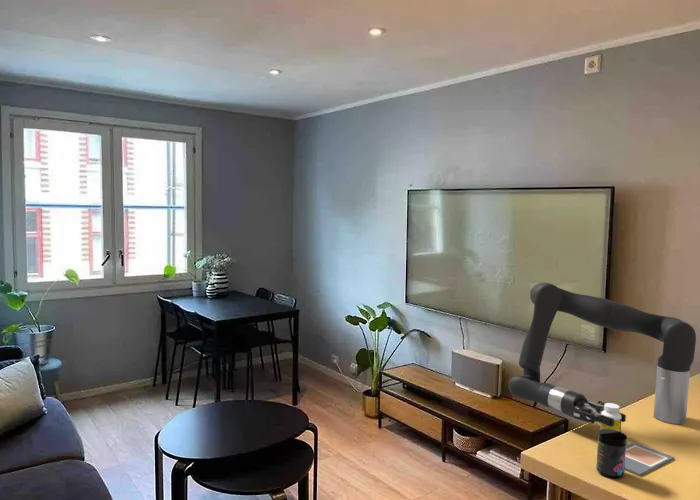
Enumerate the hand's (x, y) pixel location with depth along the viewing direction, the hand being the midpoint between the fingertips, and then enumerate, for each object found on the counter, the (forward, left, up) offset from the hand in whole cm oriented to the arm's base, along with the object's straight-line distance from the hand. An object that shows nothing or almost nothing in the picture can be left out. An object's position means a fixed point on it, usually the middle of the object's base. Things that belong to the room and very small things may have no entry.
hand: (619, 420), depth 153 cm
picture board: (+2, +7, -8) cm, 11 cm away
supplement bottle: (0, -2, -6) cm, 7 cm away
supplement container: (+16, +7, -8) cm, 20 cm away
